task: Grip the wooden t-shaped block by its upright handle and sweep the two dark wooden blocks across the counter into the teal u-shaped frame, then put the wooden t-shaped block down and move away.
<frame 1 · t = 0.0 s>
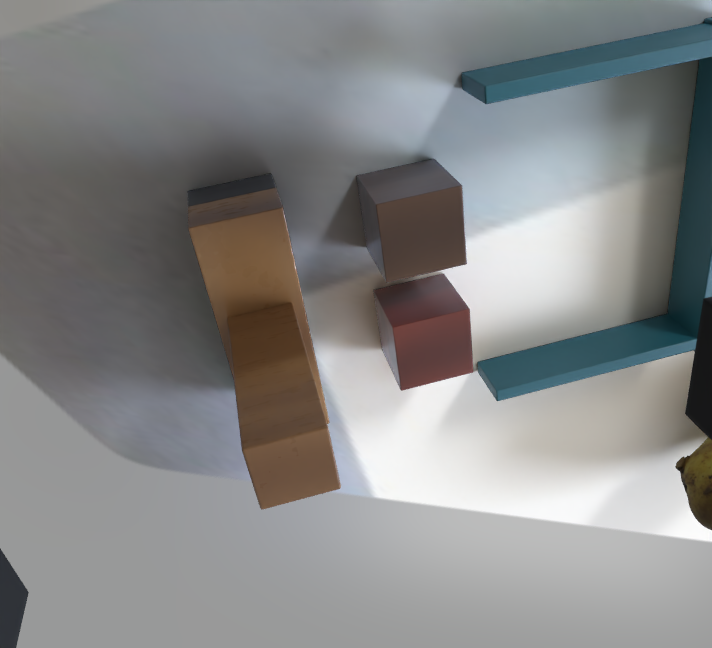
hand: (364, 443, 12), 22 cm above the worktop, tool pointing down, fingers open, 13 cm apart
teal u-shaped frame: (581, 215, 37), on the worktop
mahogany block: (412, 312, 38), on the worktop
wooden t-shaped block: (257, 291, 35), on the worktop
walnut block: (399, 204, 34), on the worktop
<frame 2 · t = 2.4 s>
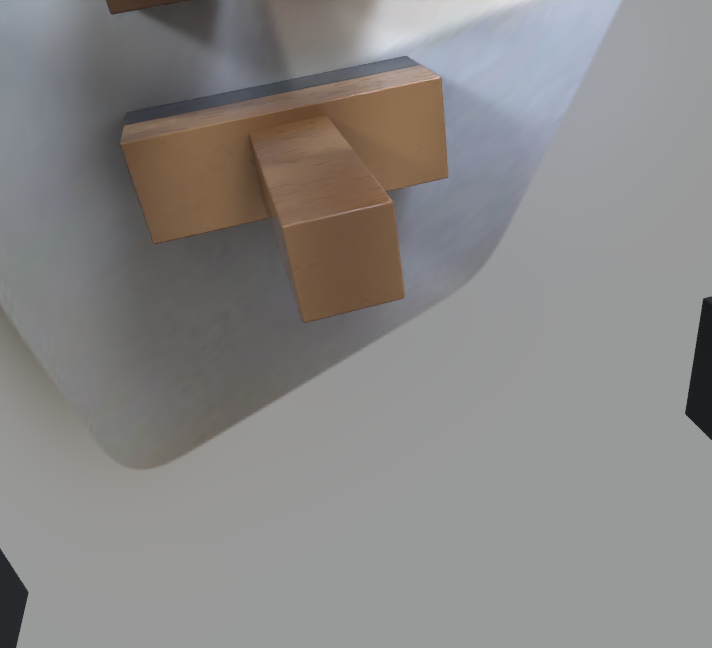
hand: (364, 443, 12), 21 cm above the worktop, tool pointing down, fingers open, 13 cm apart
wooden t-shaped block: (279, 130, 29), on the worktop
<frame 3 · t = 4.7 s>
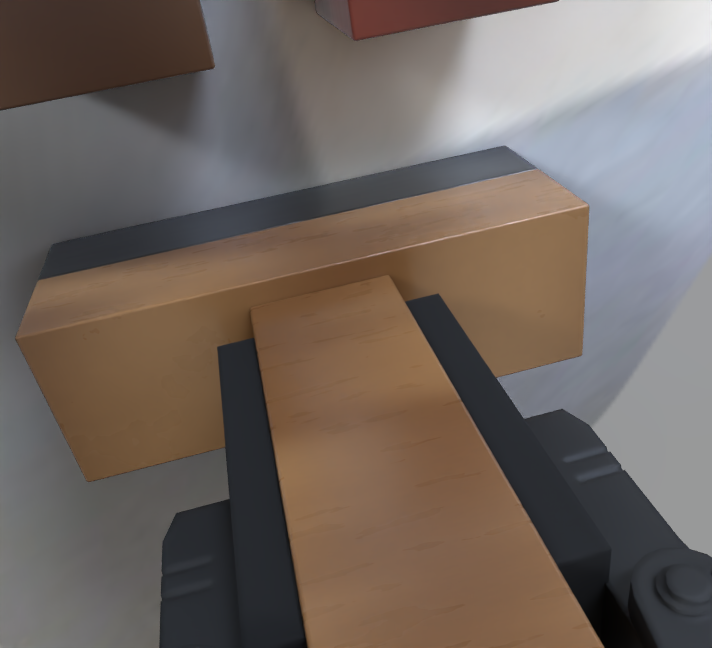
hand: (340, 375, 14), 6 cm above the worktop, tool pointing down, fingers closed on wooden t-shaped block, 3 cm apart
wooden t-shaped block: (301, 260, 19), on the worktop, touching gripper
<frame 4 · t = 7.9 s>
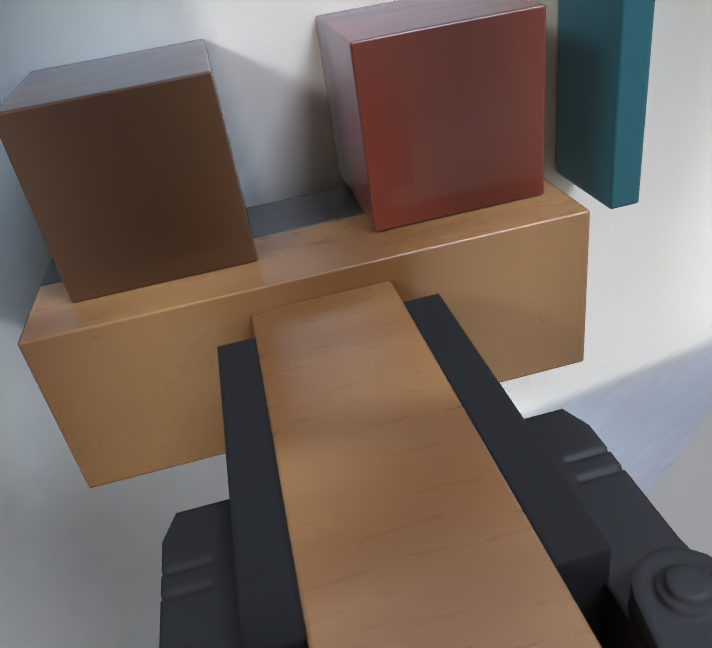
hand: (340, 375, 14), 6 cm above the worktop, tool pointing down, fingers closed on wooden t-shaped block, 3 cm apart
mahogany block: (403, 85, 17), on the worktop
wooden t-shaped block: (302, 266, 19), point 1 cm above the worktop, touching gripper
walnut block: (145, 139, 17), on the worktop
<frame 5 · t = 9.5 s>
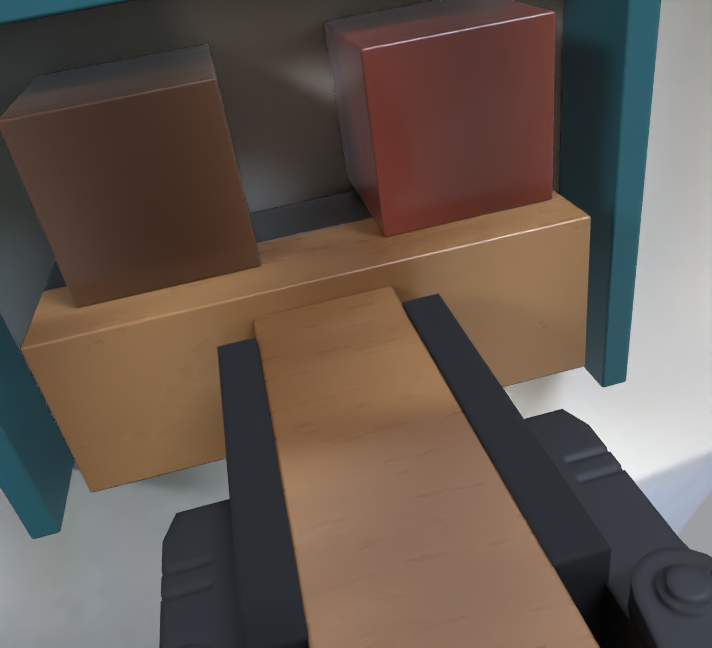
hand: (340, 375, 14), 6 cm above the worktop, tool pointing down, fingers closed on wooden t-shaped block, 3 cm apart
teal u-shaped frame: (285, 214, 18), on the worktop
mahogany block: (411, 89, 18), on the worktop, touching wooden t-shaped block
wooden t-shaped block: (304, 271, 19), point 1 cm above the worktop, touching gripper, mahogany block, walnut block
walnut block: (149, 143, 17), on the worktop, touching wooden t-shaped block
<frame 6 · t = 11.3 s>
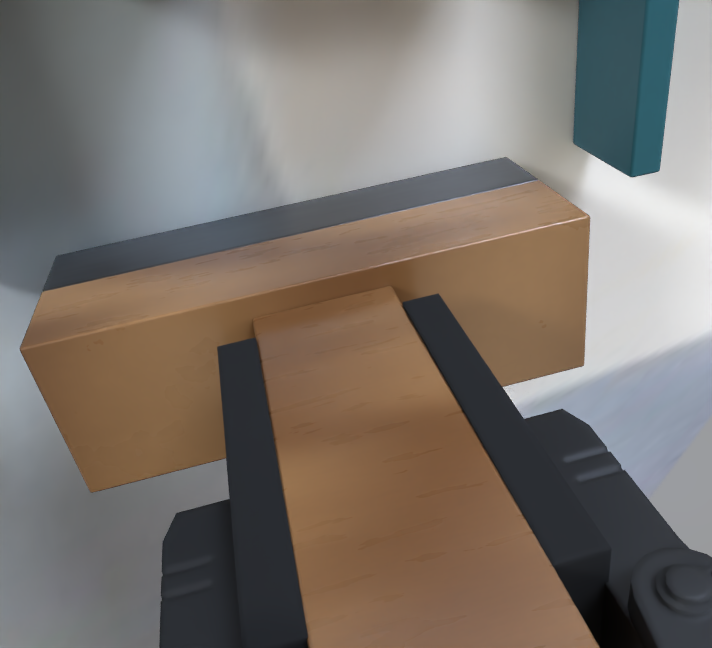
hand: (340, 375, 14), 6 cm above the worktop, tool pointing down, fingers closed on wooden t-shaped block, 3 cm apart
wooden t-shaped block: (303, 271, 19), point 1 cm above the worktop, touching gripper
when the fingers open (5 cm above the worktop, at t = 12.2 s): wooden t-shaped block stays where it is, on the worktop.
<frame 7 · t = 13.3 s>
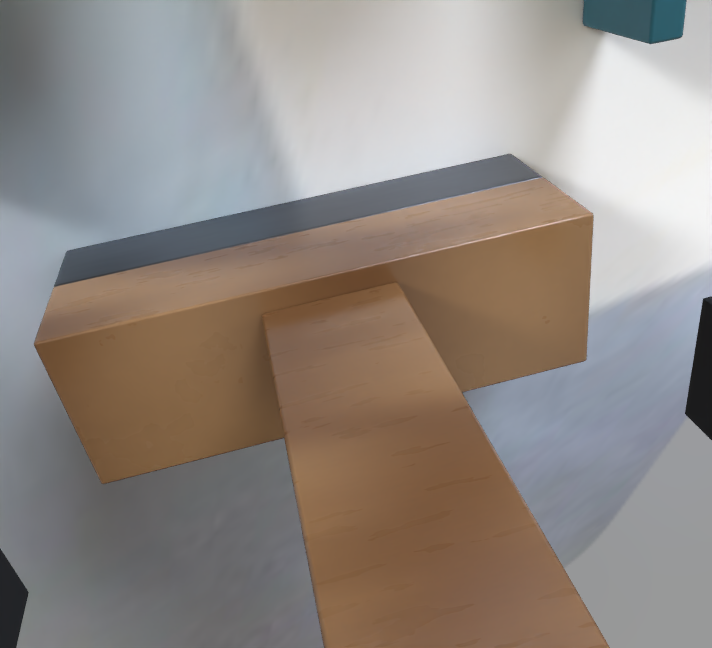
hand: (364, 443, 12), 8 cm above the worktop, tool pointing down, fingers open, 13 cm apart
wooden t-shaped block: (309, 266, 19), on the worktop
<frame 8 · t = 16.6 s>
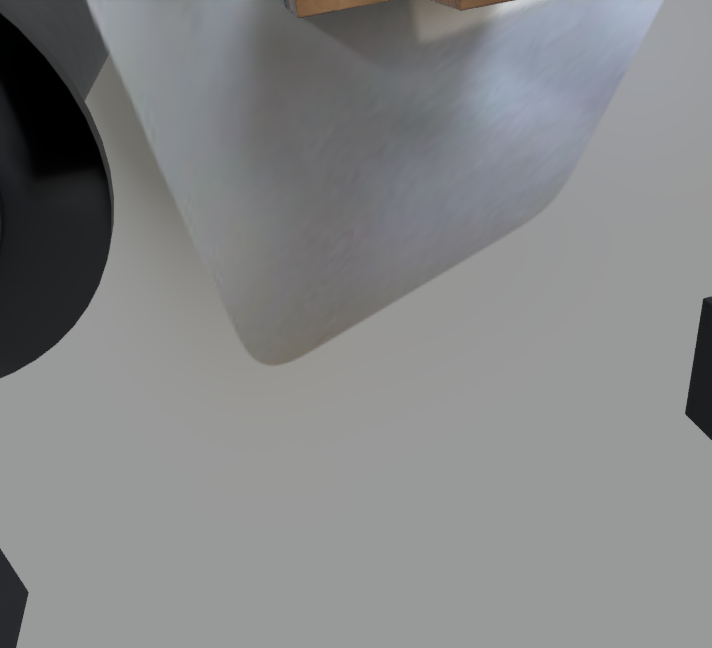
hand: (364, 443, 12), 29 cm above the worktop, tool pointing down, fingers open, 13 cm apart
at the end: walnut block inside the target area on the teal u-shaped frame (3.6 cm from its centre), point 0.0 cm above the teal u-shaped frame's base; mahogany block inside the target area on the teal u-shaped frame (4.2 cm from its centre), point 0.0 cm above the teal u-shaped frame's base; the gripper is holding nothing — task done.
